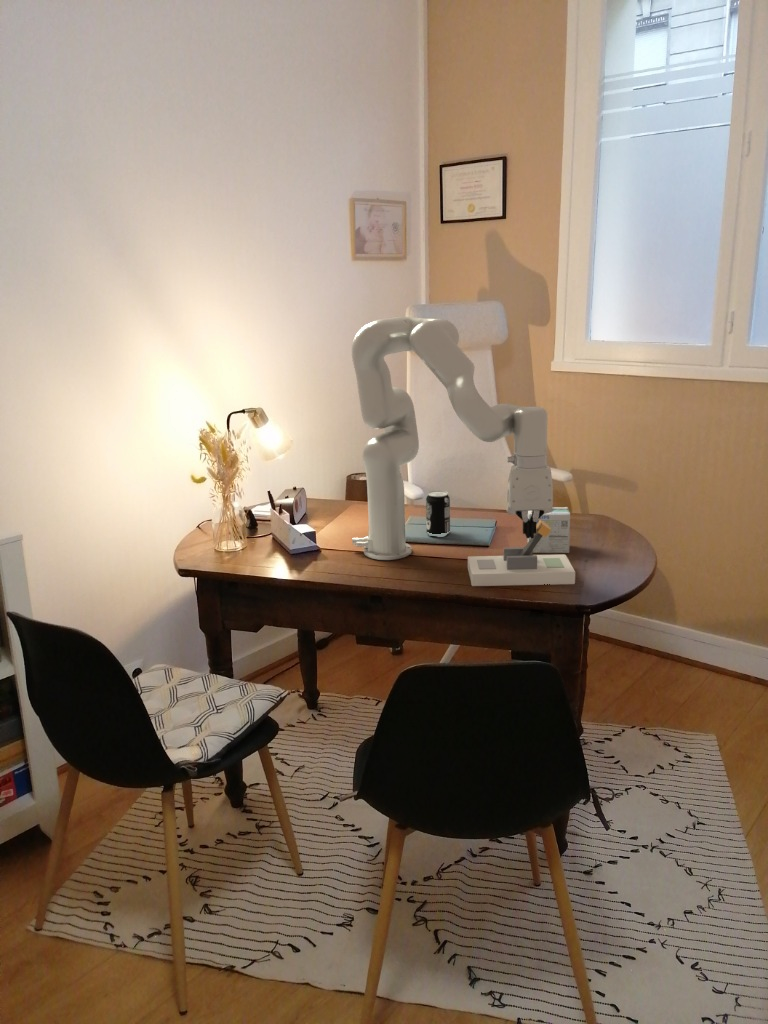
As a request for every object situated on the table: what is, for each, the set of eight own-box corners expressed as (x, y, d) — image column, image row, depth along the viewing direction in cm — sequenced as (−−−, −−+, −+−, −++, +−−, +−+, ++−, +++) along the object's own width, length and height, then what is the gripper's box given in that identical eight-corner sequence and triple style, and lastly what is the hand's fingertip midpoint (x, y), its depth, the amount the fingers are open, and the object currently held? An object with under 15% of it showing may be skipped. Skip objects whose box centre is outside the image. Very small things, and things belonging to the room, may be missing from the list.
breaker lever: (515, 563, 194) (542, 524, 191) (513, 557, 198) (539, 519, 195) (523, 568, 194) (551, 530, 191) (521, 562, 198) (548, 524, 195)
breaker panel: (471, 586, 191) (471, 562, 190) (467, 567, 203) (467, 545, 201) (574, 583, 191) (575, 559, 189) (564, 565, 202) (565, 542, 201)
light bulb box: (566, 545, 217) (568, 506, 214) (569, 553, 211) (571, 513, 207) (526, 544, 218) (527, 506, 215) (527, 553, 212) (528, 513, 209)
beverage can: (422, 533, 230) (421, 492, 227) (443, 529, 233) (443, 488, 229) (433, 539, 224) (432, 497, 221) (454, 536, 227) (454, 494, 223)
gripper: (499, 465, 185) (499, 542, 190) (565, 463, 184) (564, 540, 190) (495, 458, 192) (496, 532, 197) (559, 456, 192) (558, 530, 197)
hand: (529, 536), depth 193 cm, fingers closed
